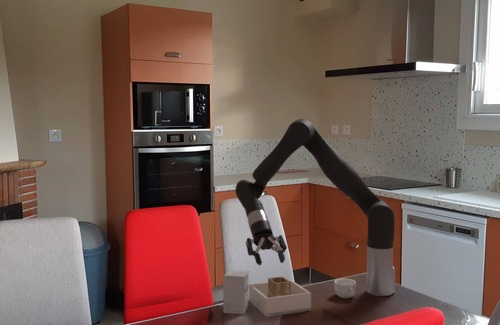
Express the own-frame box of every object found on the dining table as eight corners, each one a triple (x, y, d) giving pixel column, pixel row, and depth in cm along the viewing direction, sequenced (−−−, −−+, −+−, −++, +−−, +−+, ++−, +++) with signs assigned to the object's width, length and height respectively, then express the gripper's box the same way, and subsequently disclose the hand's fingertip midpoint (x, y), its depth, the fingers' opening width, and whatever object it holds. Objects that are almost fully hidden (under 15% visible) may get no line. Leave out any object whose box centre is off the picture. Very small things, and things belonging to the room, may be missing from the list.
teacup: (330, 293, 184) (330, 279, 184) (349, 292, 186) (349, 277, 186) (342, 302, 175) (343, 287, 174) (362, 300, 177) (362, 285, 176)
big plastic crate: (290, 295, 182) (290, 279, 182) (310, 310, 167) (311, 293, 167) (249, 301, 177) (249, 284, 176) (266, 317, 162) (266, 298, 161)
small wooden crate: (282, 298, 176) (282, 276, 176) (290, 304, 170) (290, 281, 169) (268, 300, 174) (268, 278, 174) (275, 307, 168) (275, 283, 168)
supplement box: (244, 314, 164) (244, 276, 163) (222, 313, 165) (222, 275, 165) (249, 307, 171) (249, 270, 170) (228, 305, 173) (227, 269, 172)
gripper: (243, 220, 182) (255, 259, 172) (279, 217, 187) (293, 255, 177) (239, 232, 187) (250, 270, 177) (274, 229, 192) (286, 266, 182)
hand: (271, 263), depth 177 cm, fingers open, 8 cm apart
